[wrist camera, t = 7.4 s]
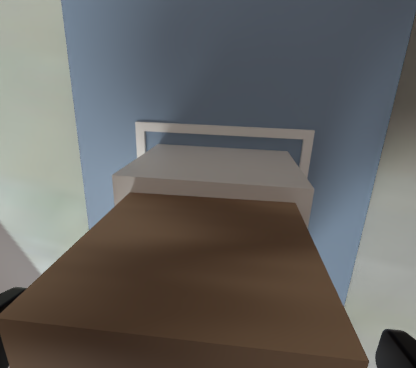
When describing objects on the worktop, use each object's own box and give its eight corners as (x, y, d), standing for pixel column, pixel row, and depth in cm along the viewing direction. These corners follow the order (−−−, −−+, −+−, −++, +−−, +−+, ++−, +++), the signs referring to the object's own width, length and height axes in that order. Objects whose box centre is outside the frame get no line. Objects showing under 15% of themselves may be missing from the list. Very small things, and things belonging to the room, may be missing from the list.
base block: (287, 151, 13) (314, 188, 8) (272, 263, 15) (287, 347, 10) (158, 144, 13) (111, 175, 8) (161, 252, 15) (124, 327, 10)
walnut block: (295, 202, 8) (368, 361, 3) (277, 334, 10) (310, 563, 5) (129, 192, 9) (-5, 317, 4) (139, 318, 10) (52, 514, 6)
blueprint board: (404, 4, 11) (422, -5, 10) (326, 343, 17) (332, 360, 16) (74, 2, 13) (57, -6, 11) (108, 316, 18) (99, 331, 17)
